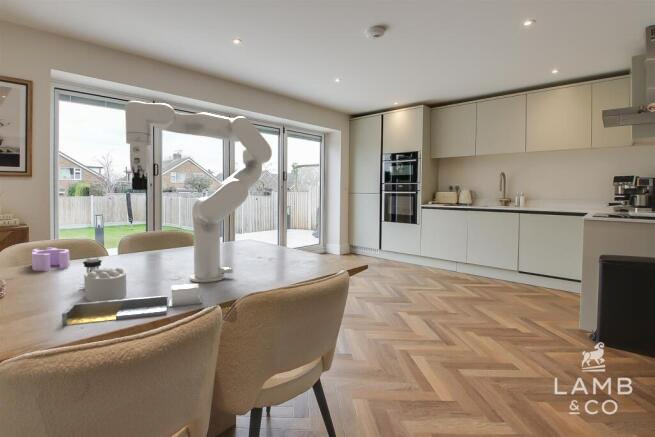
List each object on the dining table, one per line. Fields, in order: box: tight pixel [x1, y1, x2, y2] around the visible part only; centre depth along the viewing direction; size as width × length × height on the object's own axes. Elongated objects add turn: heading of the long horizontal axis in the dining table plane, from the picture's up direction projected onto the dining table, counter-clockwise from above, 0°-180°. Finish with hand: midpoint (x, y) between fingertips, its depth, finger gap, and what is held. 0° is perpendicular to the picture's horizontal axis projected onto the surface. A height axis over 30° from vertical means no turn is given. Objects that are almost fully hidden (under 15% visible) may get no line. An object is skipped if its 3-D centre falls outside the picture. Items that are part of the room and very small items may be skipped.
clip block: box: [171, 283, 200, 305], centre depth 106 cm, size 8×4×4 cm, turn 113°
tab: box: [168, 295, 202, 308], centre depth 106 cm, size 9×7×1 cm
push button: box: [79, 257, 103, 289], centre depth 119 cm, size 7×5×10 cm
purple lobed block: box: [31, 247, 71, 272], centre depth 149 cm, size 20×12×7 cm, turn 53°
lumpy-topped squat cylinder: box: [83, 267, 127, 302], centre depth 110 cm, size 10×13×9 cm
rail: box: [61, 295, 168, 326], centre depth 94 cm, size 24×8×3 cm, turn 113°
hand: (140, 189), depth 119 cm, fingers open, 9 cm apart
